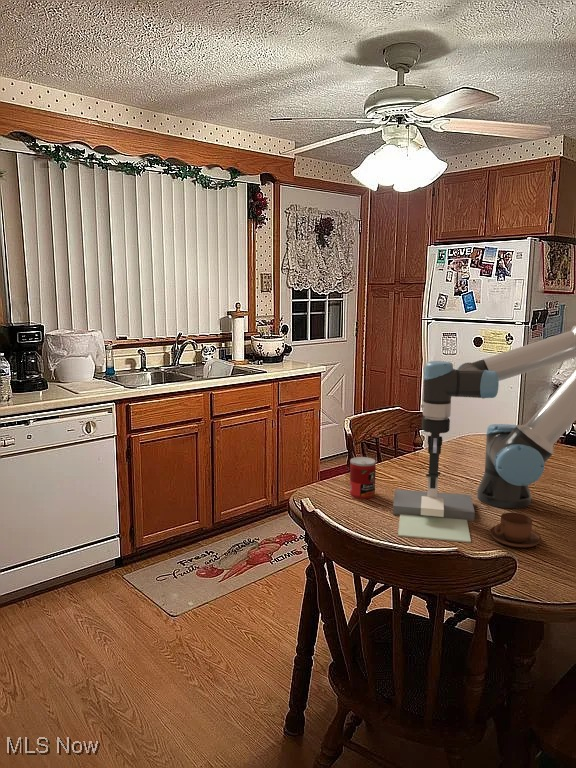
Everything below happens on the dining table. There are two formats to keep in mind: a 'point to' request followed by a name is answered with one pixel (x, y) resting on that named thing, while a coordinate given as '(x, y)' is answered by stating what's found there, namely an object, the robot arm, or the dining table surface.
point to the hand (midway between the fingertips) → (432, 497)
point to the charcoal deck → (453, 503)
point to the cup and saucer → (515, 531)
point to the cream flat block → (432, 506)
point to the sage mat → (434, 528)
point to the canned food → (362, 477)
